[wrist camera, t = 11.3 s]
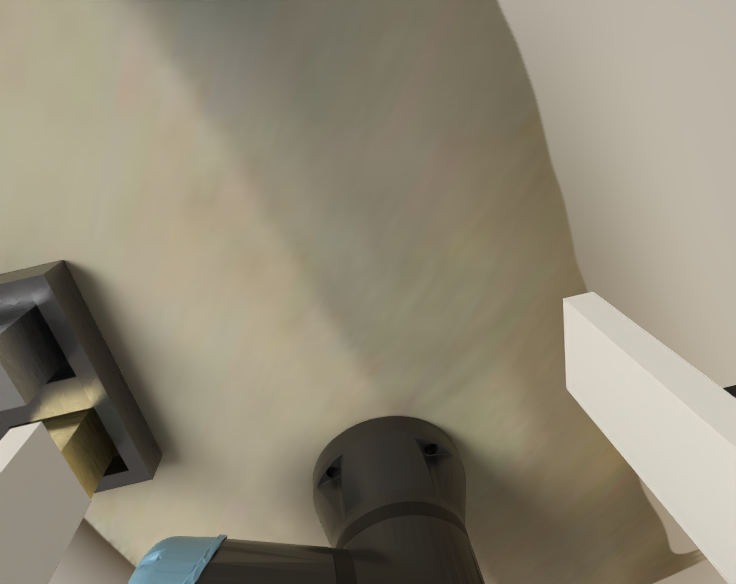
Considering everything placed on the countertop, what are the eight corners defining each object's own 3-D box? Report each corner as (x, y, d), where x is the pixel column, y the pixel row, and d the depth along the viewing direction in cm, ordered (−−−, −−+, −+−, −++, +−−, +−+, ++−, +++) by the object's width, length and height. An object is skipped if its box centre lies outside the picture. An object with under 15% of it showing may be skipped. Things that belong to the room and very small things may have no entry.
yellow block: (120, 442, 43) (87, 504, 37) (66, 454, 43) (23, 519, 37) (97, 398, 41) (57, 456, 35) (39, 411, 41) (-11, 471, 35)
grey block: (73, 352, 39) (26, 404, 33) (13, 366, 39) (-46, 421, 33) (43, 298, 37) (-13, 343, 31) (-20, 313, 37) (-89, 361, 31)
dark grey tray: (162, 454, 45) (152, 479, 42) (57, 479, 45) (41, 505, 42) (63, 259, 37) (43, 274, 34) (-66, 289, 36) (-97, 306, 34)
